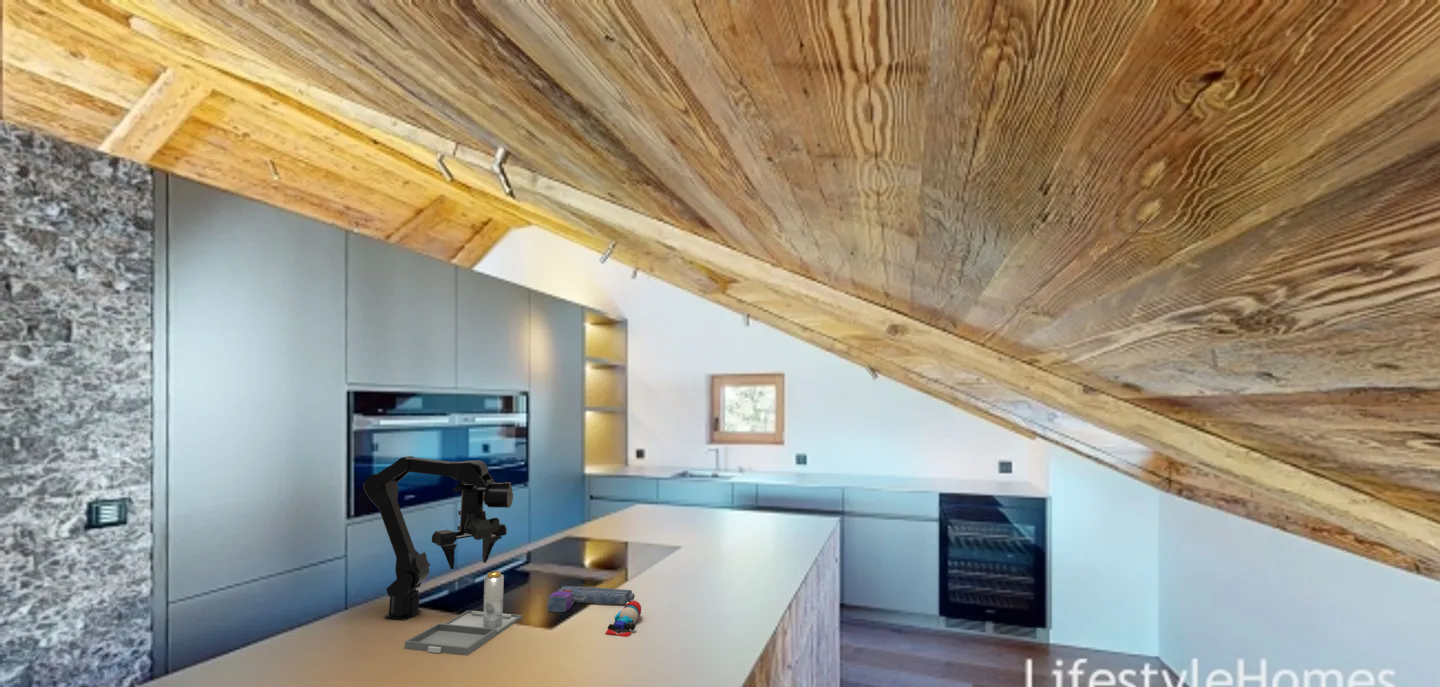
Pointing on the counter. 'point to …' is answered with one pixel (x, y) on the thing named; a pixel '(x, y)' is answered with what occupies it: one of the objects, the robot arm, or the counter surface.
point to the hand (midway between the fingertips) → (468, 565)
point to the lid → (477, 620)
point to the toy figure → (625, 619)
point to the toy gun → (586, 597)
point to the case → (451, 639)
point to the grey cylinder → (493, 600)
